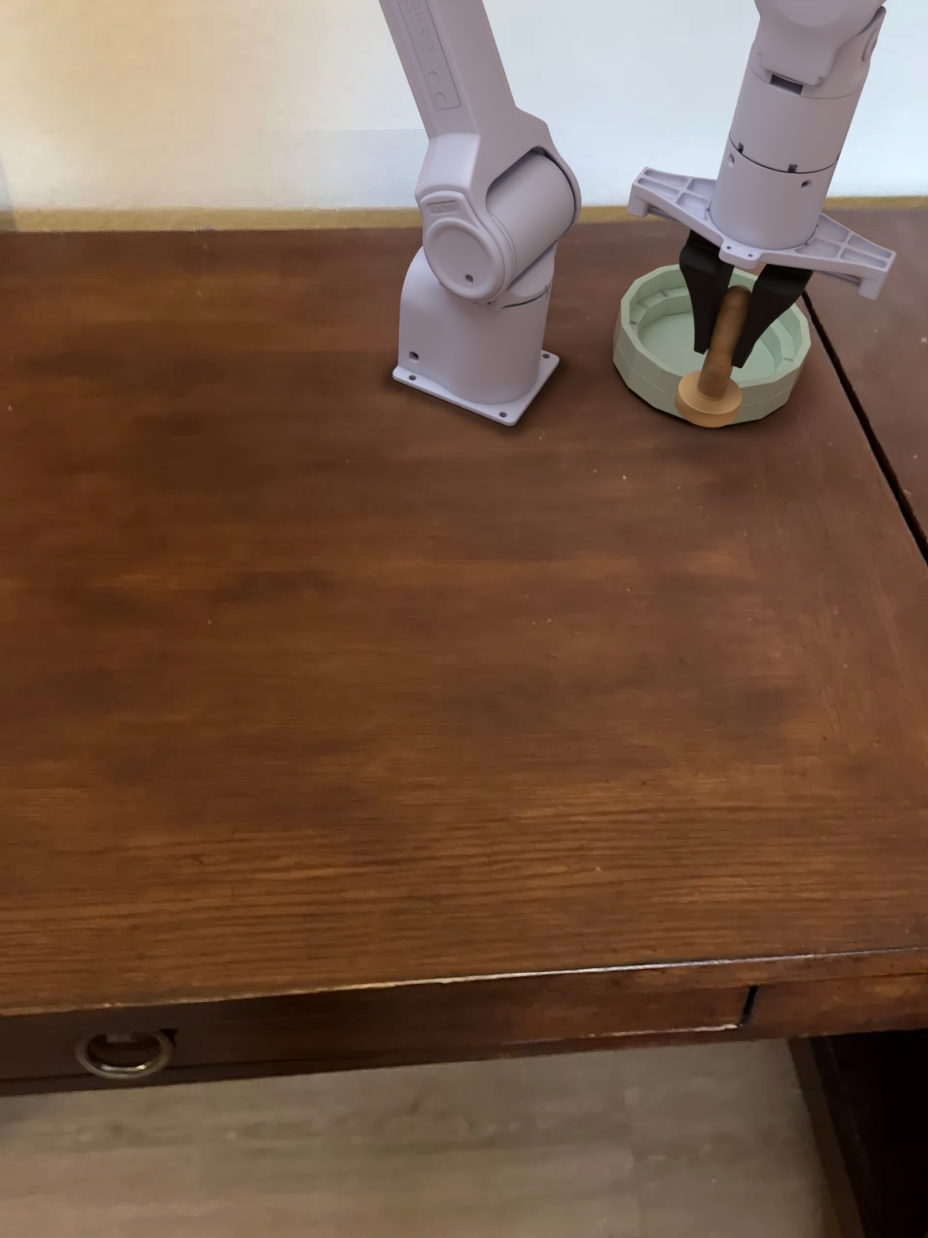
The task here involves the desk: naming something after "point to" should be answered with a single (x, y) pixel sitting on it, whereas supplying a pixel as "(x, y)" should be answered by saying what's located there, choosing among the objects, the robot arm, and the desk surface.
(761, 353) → the bowl
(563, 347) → the desk surface
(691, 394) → the wooden stamp
